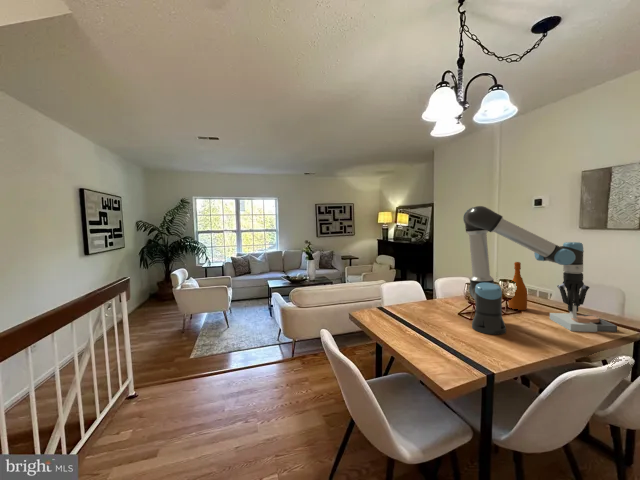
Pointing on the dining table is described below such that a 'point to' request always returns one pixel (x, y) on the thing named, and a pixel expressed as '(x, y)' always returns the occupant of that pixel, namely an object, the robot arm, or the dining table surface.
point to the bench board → (572, 323)
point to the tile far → (593, 319)
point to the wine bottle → (519, 291)
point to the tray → (604, 325)
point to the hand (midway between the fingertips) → (573, 317)
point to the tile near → (581, 319)
